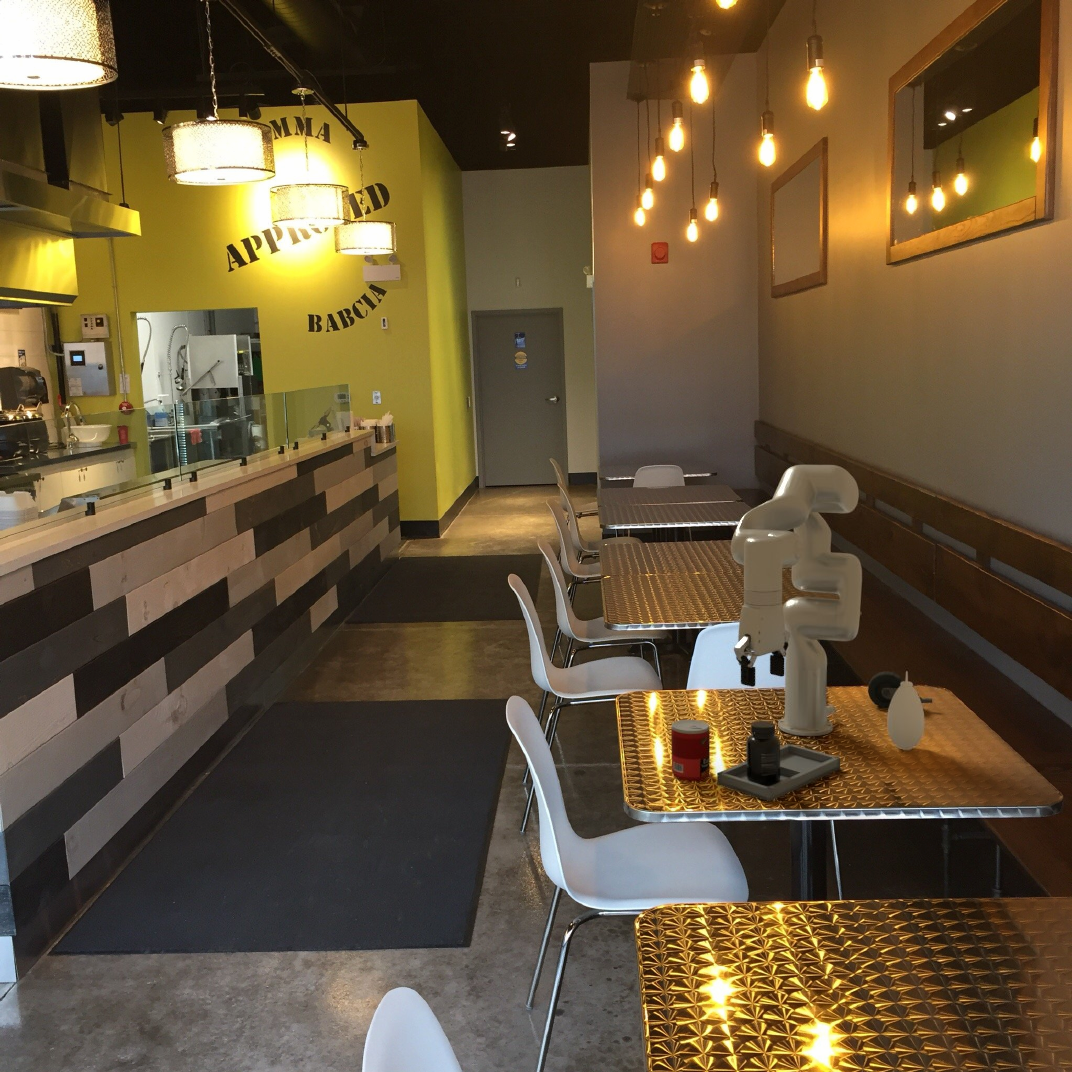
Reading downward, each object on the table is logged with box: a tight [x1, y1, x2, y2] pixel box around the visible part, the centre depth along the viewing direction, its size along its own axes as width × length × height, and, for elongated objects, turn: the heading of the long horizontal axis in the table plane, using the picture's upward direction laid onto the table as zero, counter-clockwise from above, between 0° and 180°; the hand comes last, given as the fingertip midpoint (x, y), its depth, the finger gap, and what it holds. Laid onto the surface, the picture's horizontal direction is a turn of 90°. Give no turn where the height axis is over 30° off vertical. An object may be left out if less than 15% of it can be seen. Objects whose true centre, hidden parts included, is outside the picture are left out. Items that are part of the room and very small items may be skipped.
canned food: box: [670, 719, 711, 782], centre depth 224 cm, size 8×8×11 cm
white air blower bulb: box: [886, 670, 925, 751], centre depth 235 cm, size 8×8×18 cm
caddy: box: [716, 743, 841, 802], centre depth 222 cm, size 25×13×2 cm, turn 132°
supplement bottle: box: [745, 720, 781, 786], centre depth 218 cm, size 7×7×12 cm
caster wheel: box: [867, 671, 933, 709], centre depth 265 cm, size 6×10×15 cm
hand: (762, 680), depth 215 cm, fingers open, 9 cm apart
